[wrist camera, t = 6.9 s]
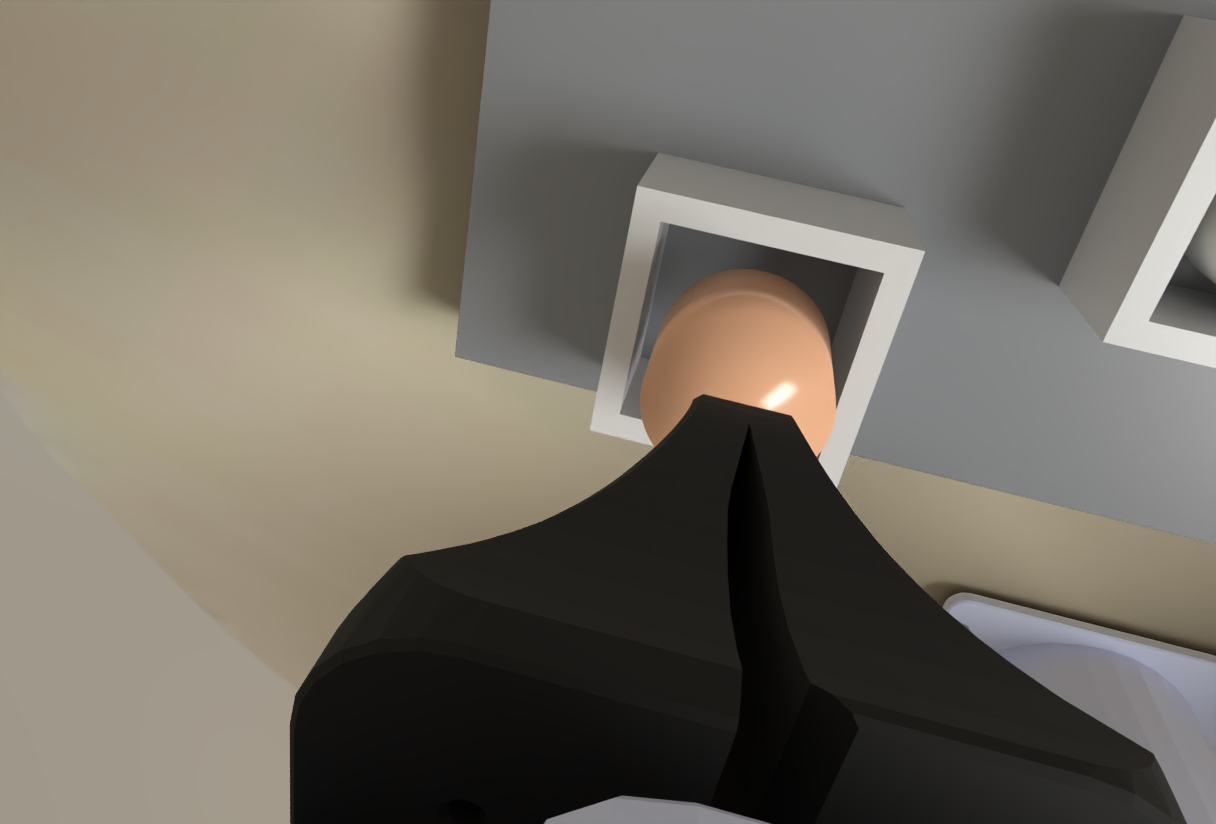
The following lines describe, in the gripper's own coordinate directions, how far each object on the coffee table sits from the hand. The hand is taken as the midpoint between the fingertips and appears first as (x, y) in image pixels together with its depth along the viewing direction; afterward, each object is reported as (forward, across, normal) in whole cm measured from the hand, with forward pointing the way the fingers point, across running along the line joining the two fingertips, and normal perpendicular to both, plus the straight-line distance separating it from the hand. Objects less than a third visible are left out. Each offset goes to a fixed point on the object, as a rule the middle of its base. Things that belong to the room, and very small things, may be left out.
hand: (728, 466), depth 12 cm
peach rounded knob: (+4, 0, 0) cm, 4 cm away
